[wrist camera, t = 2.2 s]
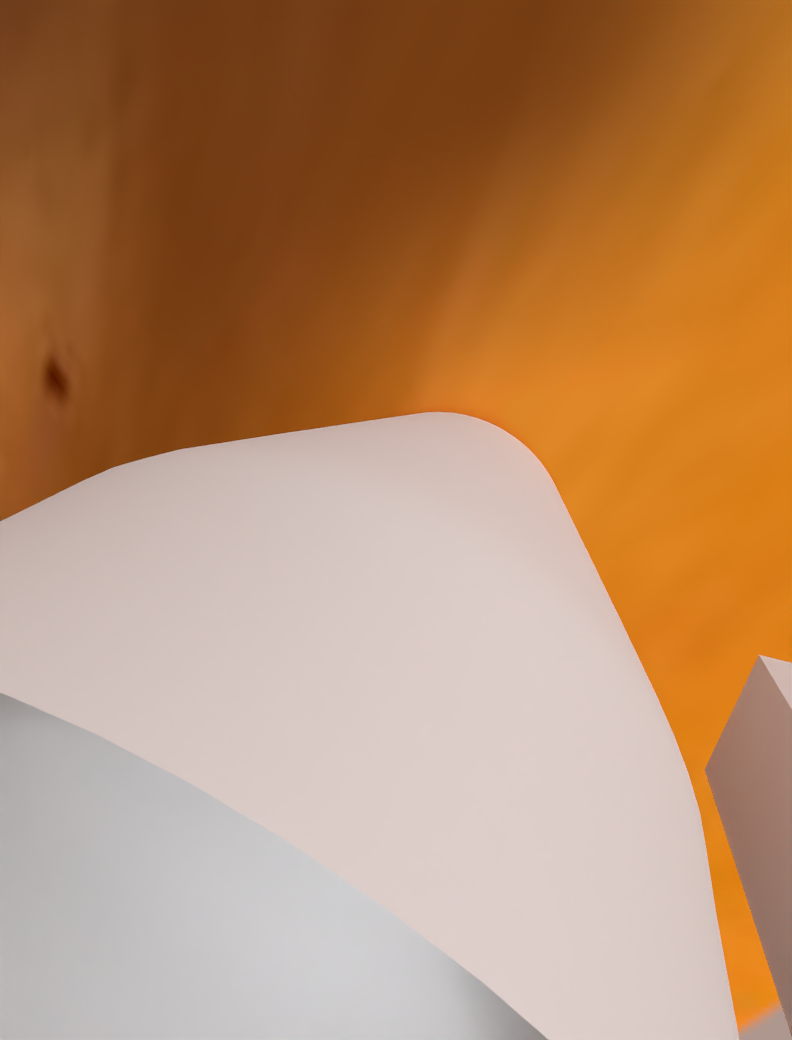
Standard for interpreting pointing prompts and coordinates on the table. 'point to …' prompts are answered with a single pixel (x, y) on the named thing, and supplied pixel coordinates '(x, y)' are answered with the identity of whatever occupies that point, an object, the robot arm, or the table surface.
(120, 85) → the table surface
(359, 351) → the table surface
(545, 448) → the table surface
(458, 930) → the cup
